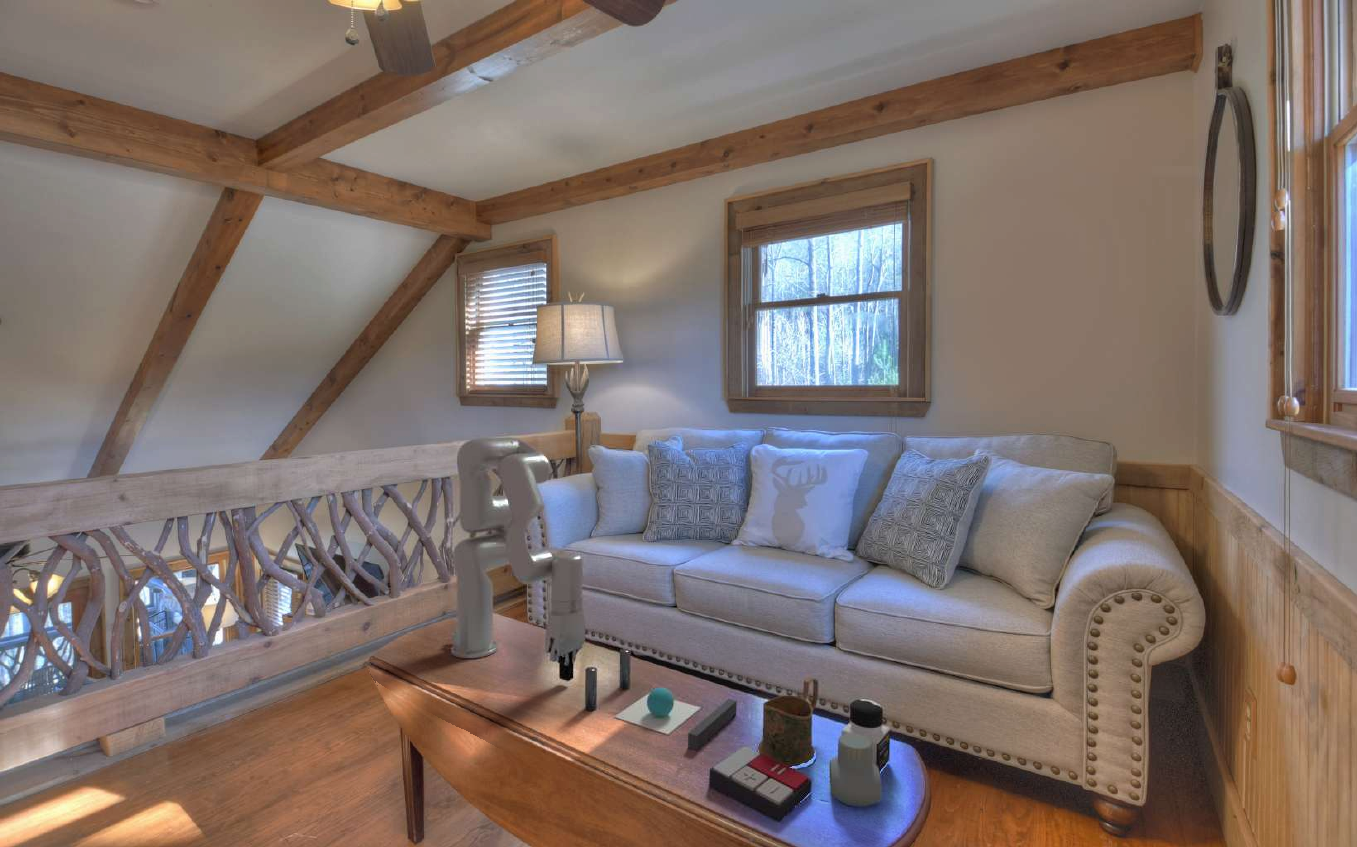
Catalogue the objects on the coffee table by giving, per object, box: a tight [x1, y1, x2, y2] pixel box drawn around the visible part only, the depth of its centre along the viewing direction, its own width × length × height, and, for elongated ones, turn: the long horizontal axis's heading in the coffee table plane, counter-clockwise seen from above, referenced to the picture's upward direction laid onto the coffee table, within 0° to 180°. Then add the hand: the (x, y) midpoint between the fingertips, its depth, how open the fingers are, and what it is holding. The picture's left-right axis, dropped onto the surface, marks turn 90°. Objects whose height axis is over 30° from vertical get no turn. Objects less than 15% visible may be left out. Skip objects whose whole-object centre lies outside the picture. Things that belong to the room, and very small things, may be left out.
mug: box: [757, 677, 819, 767], centre depth 129 cm, size 12×18×12 cm, turn 140°
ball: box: [647, 686, 675, 717], centre depth 142 cm, size 6×6×6 cm
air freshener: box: [829, 733, 883, 807], centre depth 113 cm, size 11×8×10 cm
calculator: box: [708, 745, 813, 823], centre depth 115 cm, size 11×4×15 cm
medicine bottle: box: [840, 698, 891, 772], centre depth 123 cm, size 7×7×12 cm
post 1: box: [584, 666, 598, 712], centre depth 145 cm, size 3×3×9 cm
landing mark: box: [613, 692, 702, 736], centre depth 143 cm, size 14×14×1 cm
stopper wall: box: [687, 698, 738, 751], centre depth 136 cm, size 2×18×3 cm, turn 149°
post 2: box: [619, 648, 632, 691], centre depth 156 cm, size 3×3×9 cm
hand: (566, 678), depth 157 cm, fingers closed
